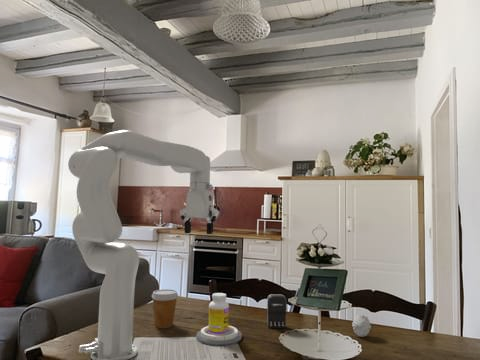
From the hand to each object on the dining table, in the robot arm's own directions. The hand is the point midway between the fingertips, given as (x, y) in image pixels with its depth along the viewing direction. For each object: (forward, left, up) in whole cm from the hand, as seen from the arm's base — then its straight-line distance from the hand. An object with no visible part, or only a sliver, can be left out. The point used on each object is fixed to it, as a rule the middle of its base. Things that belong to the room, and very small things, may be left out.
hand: (198, 233), depth 132 cm
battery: (+24, -17, -34) cm, 45 cm away
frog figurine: (+43, -39, -34) cm, 67 cm away
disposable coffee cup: (-10, +6, -34) cm, 35 cm away
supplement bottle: (+1, -15, -32) cm, 36 cm away
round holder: (+1, -15, -33) cm, 37 cm away
